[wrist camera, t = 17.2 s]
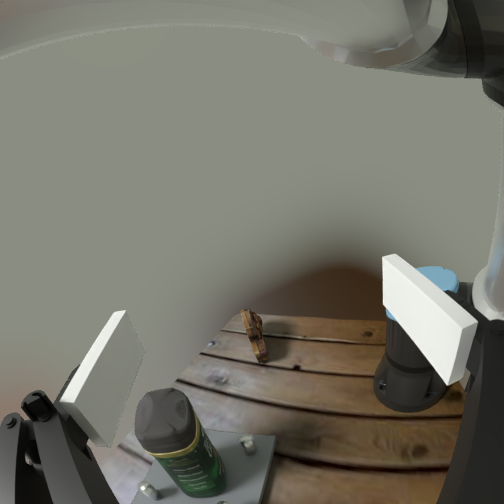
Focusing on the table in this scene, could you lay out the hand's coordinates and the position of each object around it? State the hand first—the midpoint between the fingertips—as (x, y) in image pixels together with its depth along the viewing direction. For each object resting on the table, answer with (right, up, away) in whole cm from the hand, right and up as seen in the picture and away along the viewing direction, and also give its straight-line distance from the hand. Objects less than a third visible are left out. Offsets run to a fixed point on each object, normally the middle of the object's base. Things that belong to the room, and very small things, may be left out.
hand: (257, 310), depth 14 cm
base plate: (-8, -34, +23) cm, 42 cm away
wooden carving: (+2, -21, +56) cm, 60 cm away
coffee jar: (-8, -33, +23) cm, 41 cm away
